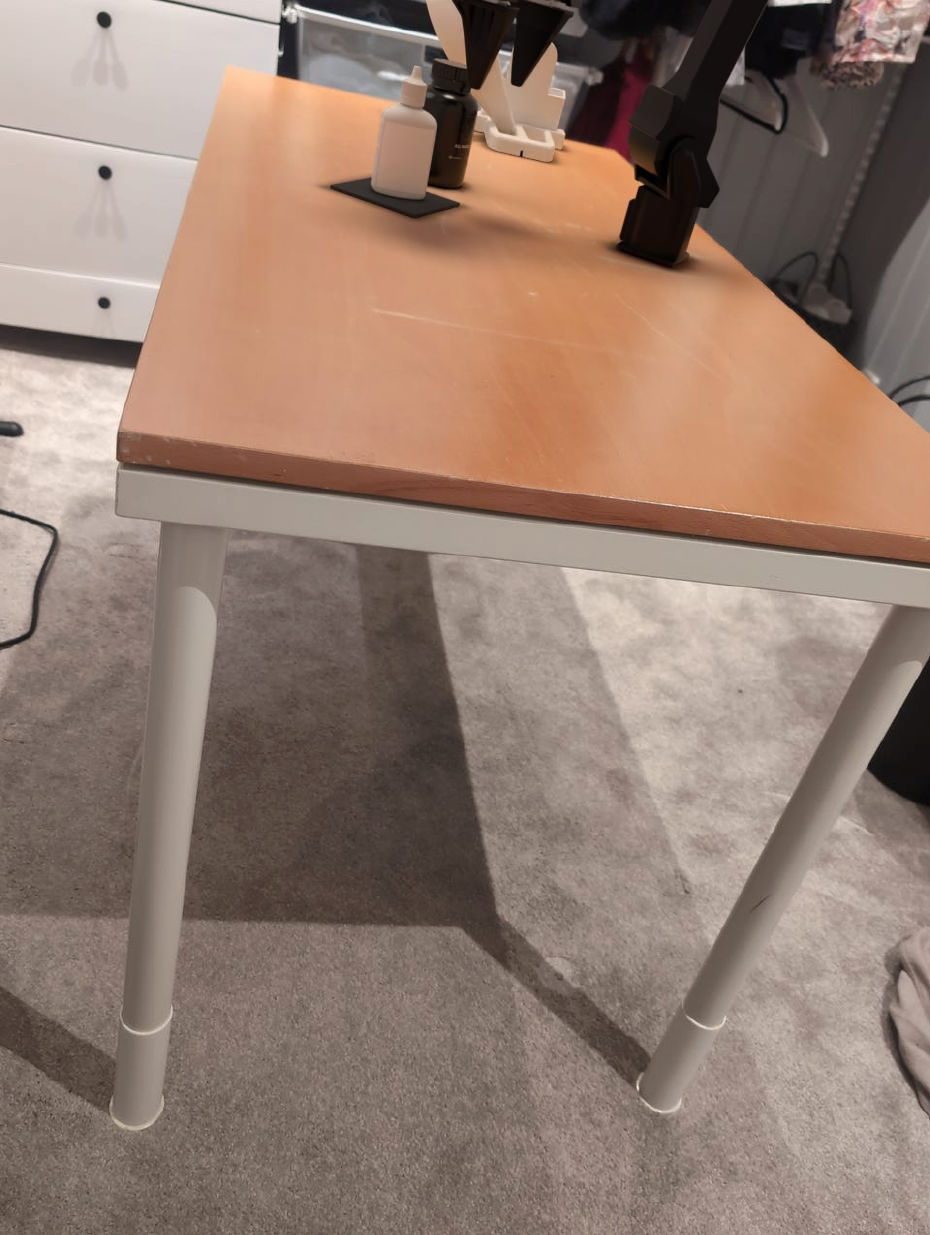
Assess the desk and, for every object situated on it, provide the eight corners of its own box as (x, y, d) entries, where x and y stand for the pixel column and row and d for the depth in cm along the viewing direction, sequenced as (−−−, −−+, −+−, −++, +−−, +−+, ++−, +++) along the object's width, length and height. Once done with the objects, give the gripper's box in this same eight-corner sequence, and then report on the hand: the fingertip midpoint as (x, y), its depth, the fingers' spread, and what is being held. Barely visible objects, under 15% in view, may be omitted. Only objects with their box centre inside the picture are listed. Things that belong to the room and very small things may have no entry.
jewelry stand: (559, 144, 152) (606, -51, 138) (569, 167, 140) (622, -46, 126) (393, 107, 149) (424, -97, 135) (388, 127, 136) (422, -96, 122)
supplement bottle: (462, 193, 114) (485, 75, 107) (402, 180, 113) (421, 59, 107) (463, 180, 120) (485, 66, 113) (406, 167, 119) (425, 52, 112)
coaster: (459, 205, 109) (460, 203, 109) (414, 217, 101) (414, 214, 101) (380, 178, 112) (380, 175, 112) (329, 188, 104) (330, 185, 104)
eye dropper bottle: (415, 205, 104) (437, 75, 98) (364, 190, 105) (383, 60, 98) (429, 198, 108) (451, 72, 101) (379, 183, 109) (398, 58, 102)
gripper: (498, -123, 95) (464, 63, 104) (399, -154, 80) (369, 65, 89) (607, -96, 92) (563, 93, 101) (525, -124, 77) (481, 100, 86)
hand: (495, 87), depth 94 cm, fingers open, 9 cm apart
